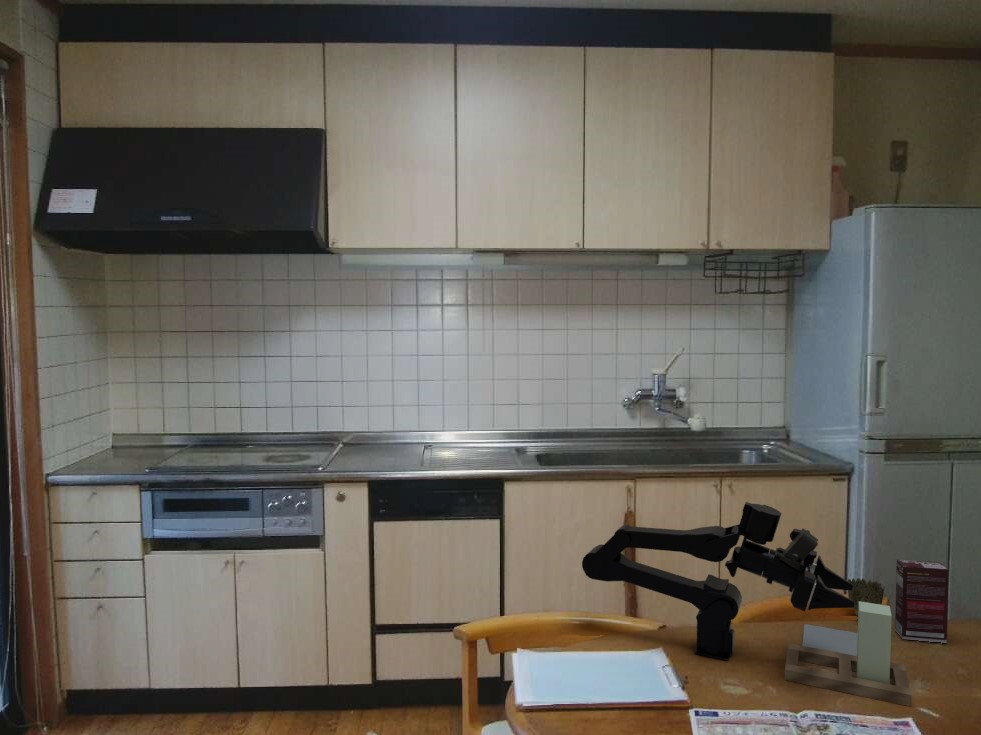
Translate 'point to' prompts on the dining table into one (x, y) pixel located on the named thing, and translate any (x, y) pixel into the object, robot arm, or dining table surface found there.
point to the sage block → (874, 642)
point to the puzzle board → (844, 675)
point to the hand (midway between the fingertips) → (853, 596)
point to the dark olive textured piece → (865, 592)
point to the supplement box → (921, 600)
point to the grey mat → (830, 639)
